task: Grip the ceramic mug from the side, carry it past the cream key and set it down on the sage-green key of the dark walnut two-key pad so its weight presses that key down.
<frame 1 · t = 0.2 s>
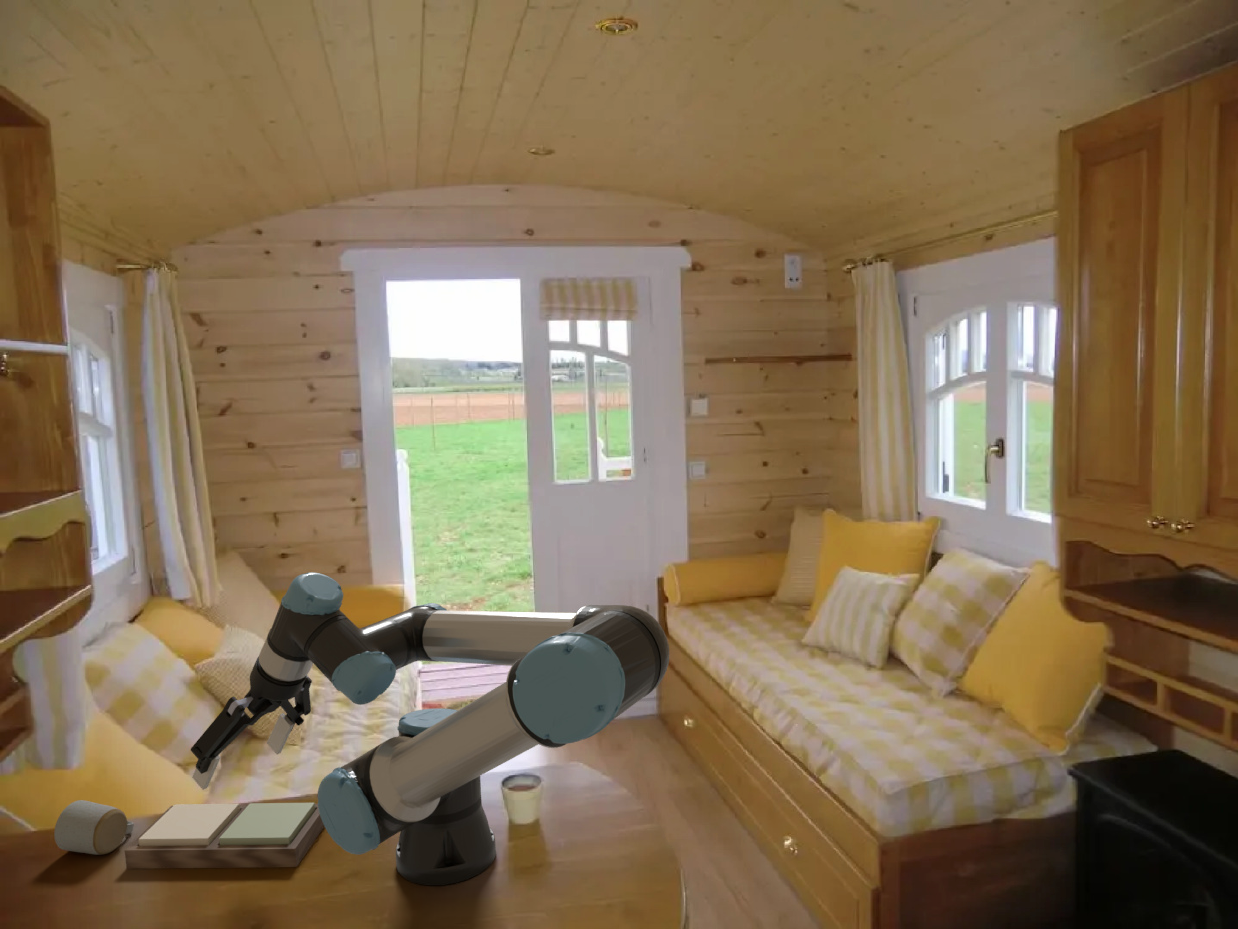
hand: (238, 764, 145), 15 cm above the table, tool tilted 35°, fingers open, 13 cm apart
ceramic mug: (100, 846, 153), on the table
cream key: (191, 829, 151), point 3 cm above the table, slide at 0.0 cm
key pad frame: (231, 843, 151), on the table
sage key: (269, 828, 151), point 3 cm above the table, slide at 0.0 cm
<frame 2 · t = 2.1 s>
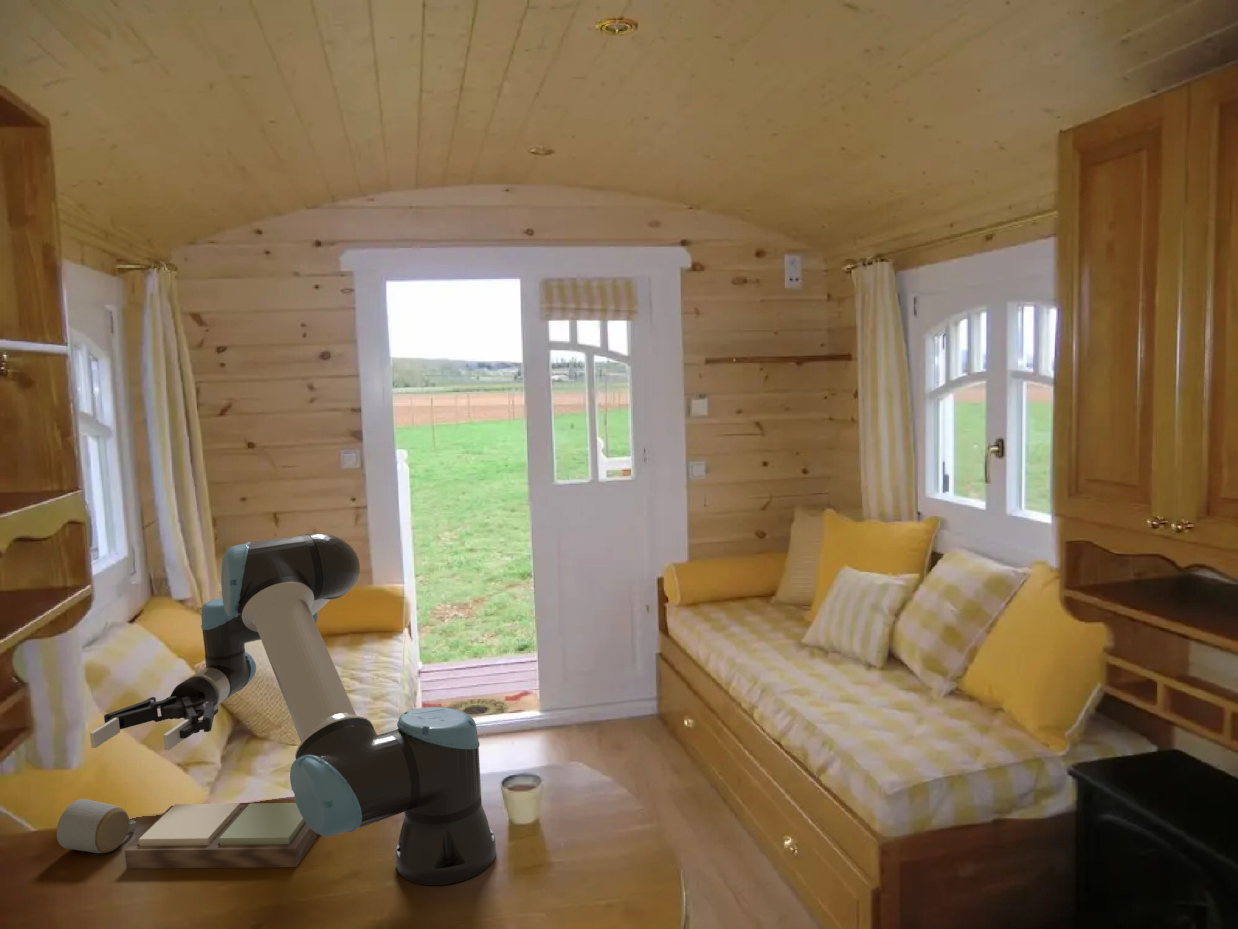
hand: (128, 741, 160), 13 cm above the table, tool horizontal, fingers open, 13 cm apart
nothing on the table moved.
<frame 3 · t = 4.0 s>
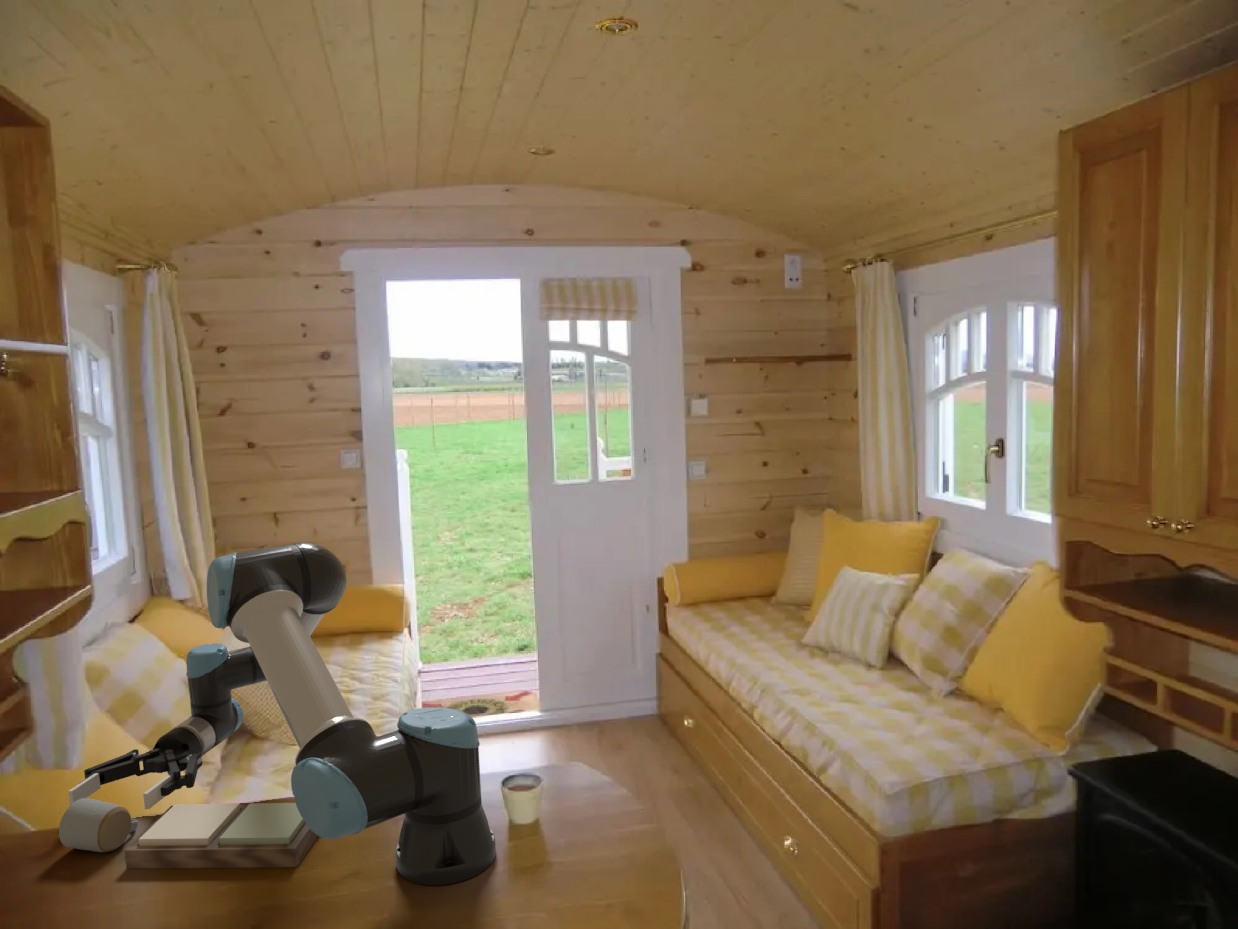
hand: (108, 800, 155), 6 cm above the table, tool horizontal, fingers open, 13 cm apart
nothing on the table moved.
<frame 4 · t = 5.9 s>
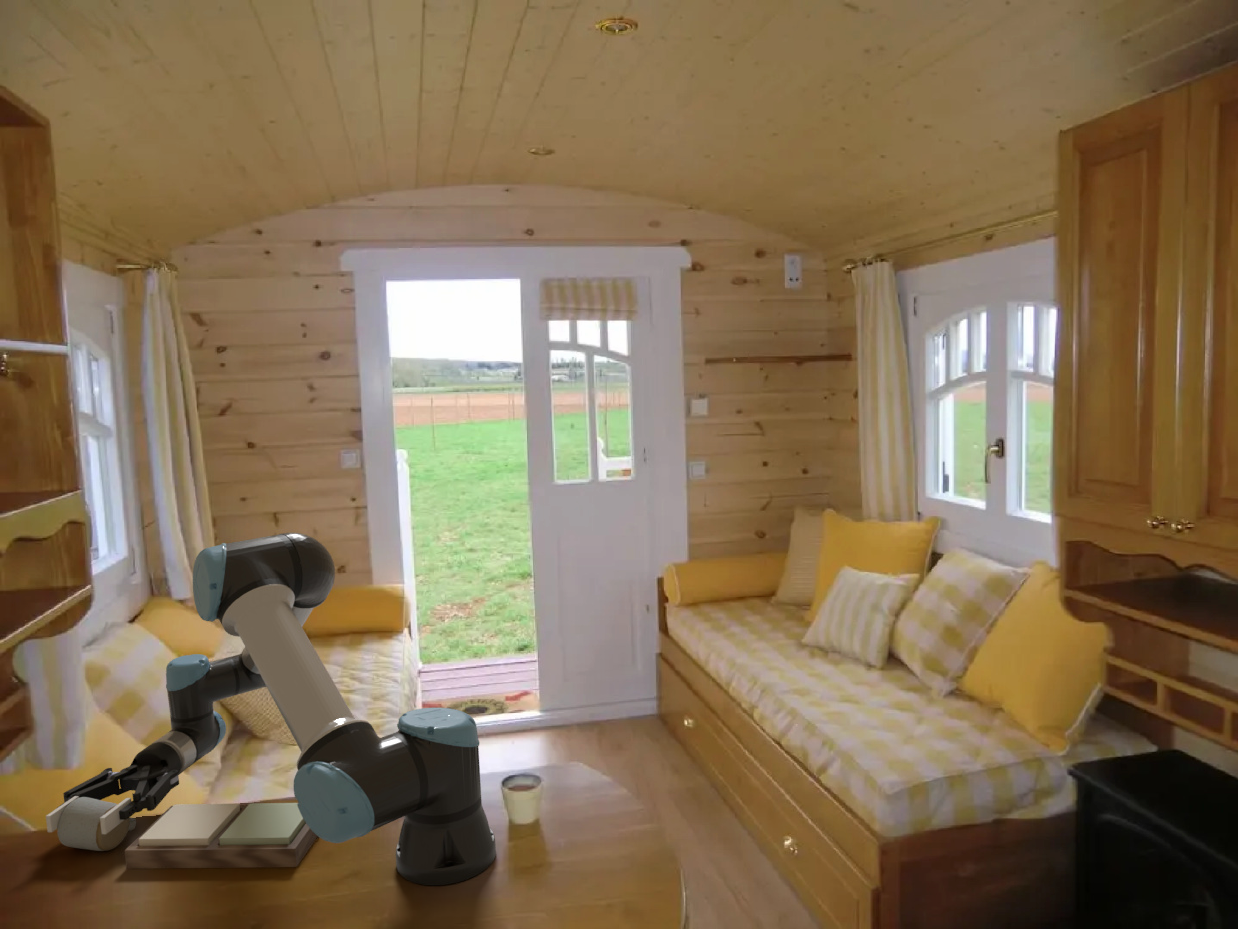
hand: (75, 825, 147), 6 cm above the table, tool horizontal, fingers closed on ceramic mug, 9 cm apart
ceramic mug: (103, 843, 153), on the table, touching gripper
everything else where it was.
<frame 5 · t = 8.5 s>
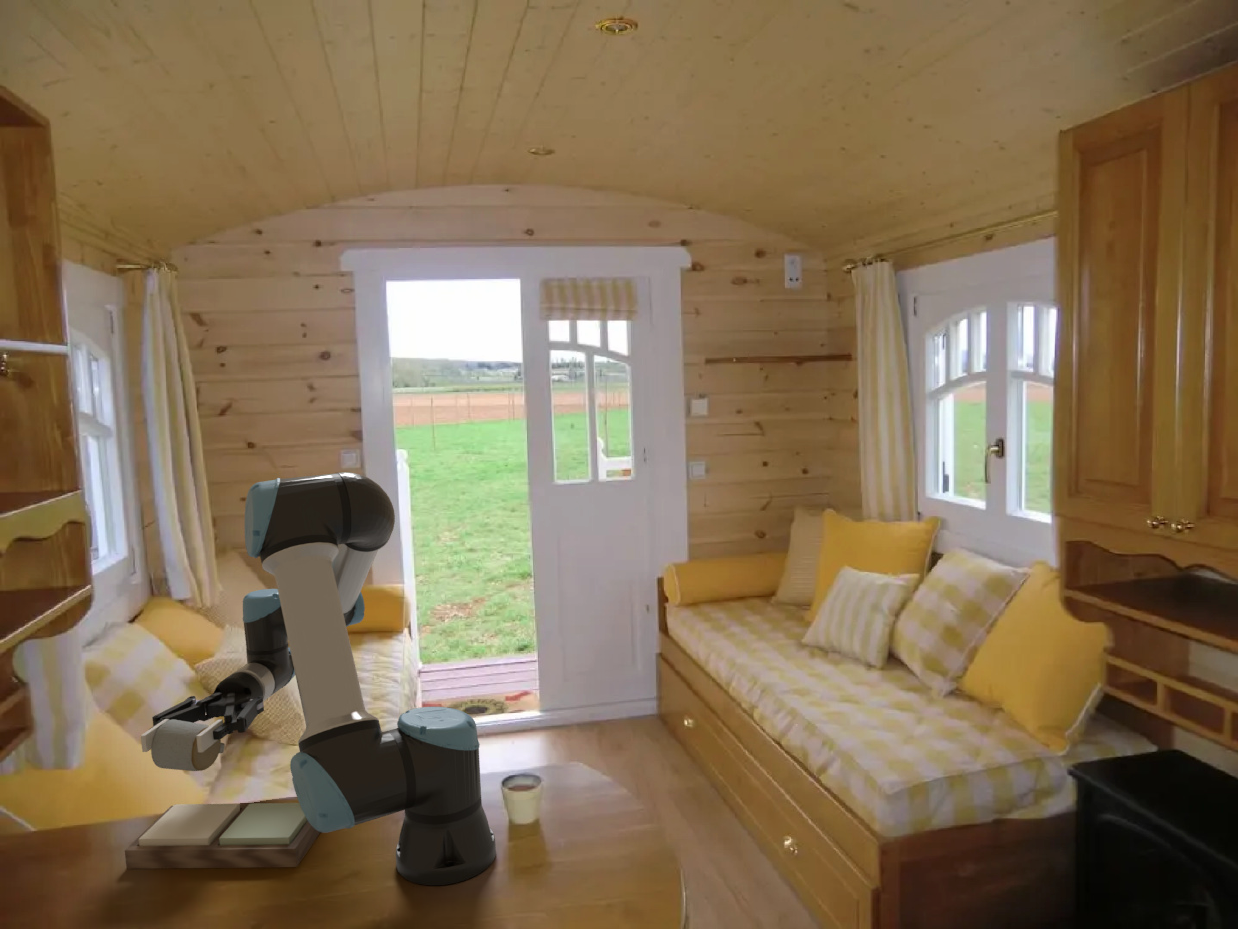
hand: (171, 744, 147), 18 cm above the table, tool horizontal, fingers closed on ceramic mug, 9 cm apart
ceramic mug: (194, 765, 154), point 12 cm above the table, touching gripper
everything else where it was.
when the fingers open (11 cm above the table, at t = 11.4 s): ceramic mug drops 3 cm, resting on key pad frame, sage key.
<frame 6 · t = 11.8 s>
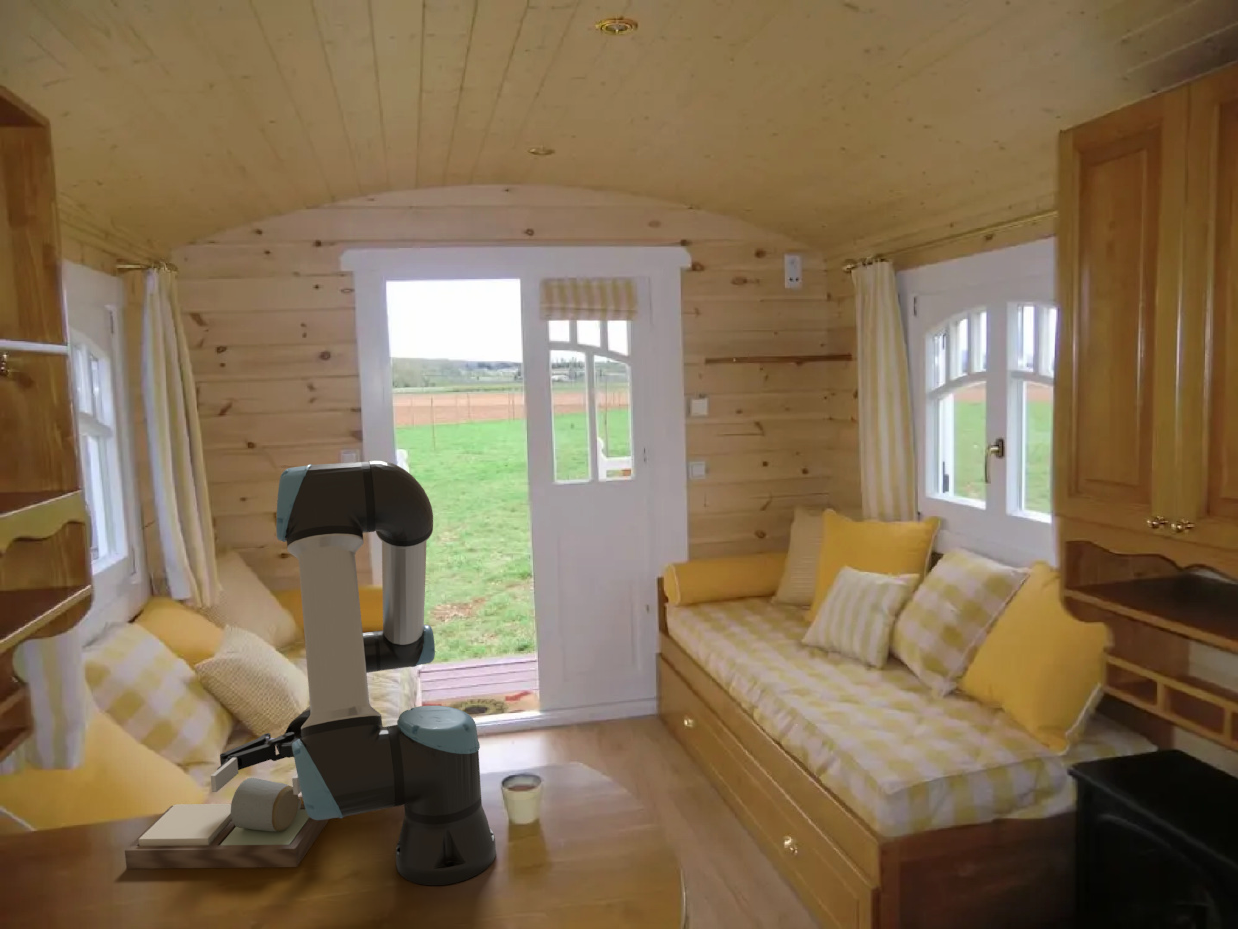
hand: (253, 785, 146), 11 cm above the table, tool horizontal, fingers open, 13 cm apart
ceramic mug: (272, 823, 152), point 3 cm above the table, touching key pad frame, sage key
sage key: (269, 834, 151), point 1 cm above the table, slide at 1.2 cm, touching ceramic mug
everything else where it was.
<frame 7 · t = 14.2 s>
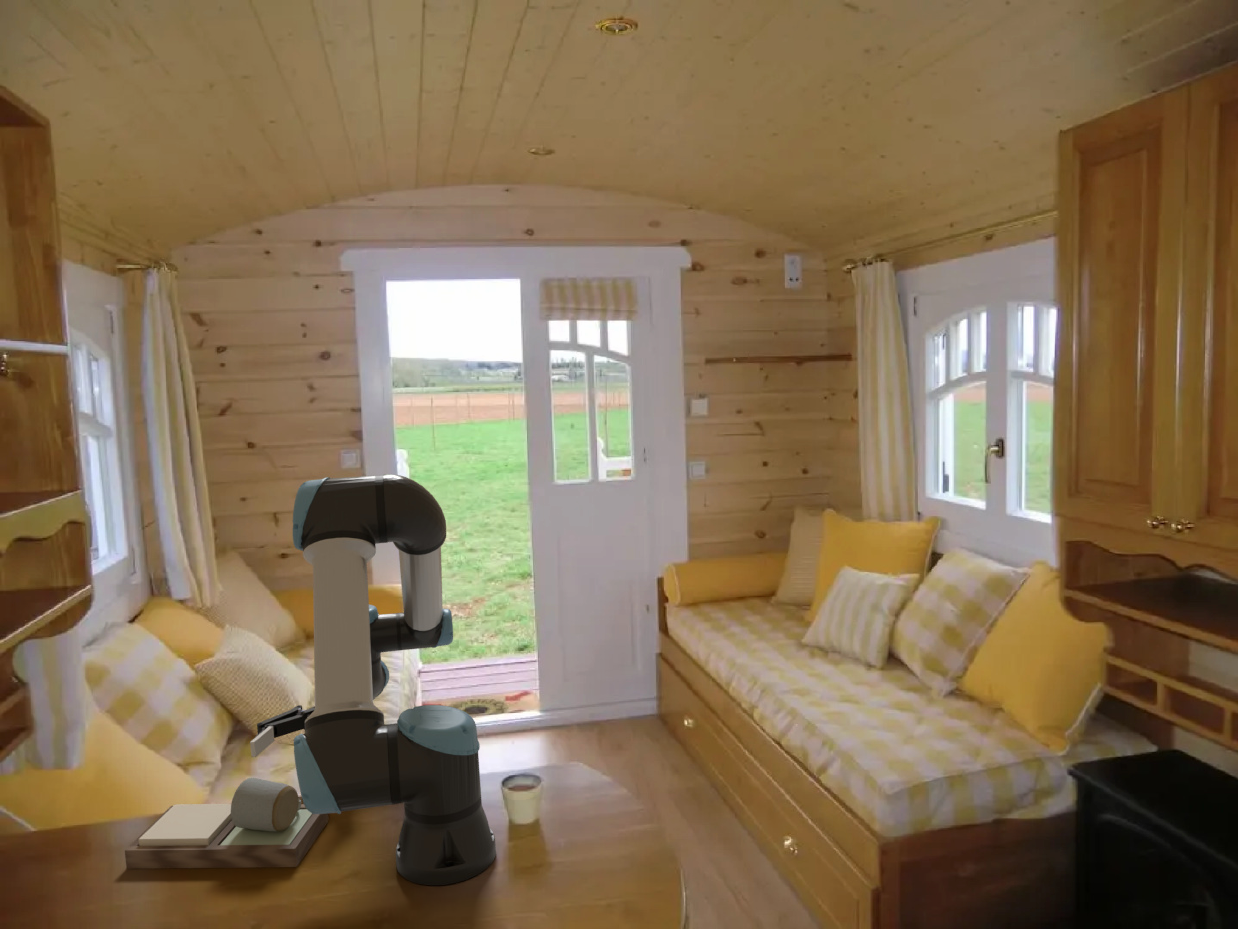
hand: (290, 750, 158), 12 cm above the table, tool horizontal, fingers open, 13 cm apart
nothing on the table moved.
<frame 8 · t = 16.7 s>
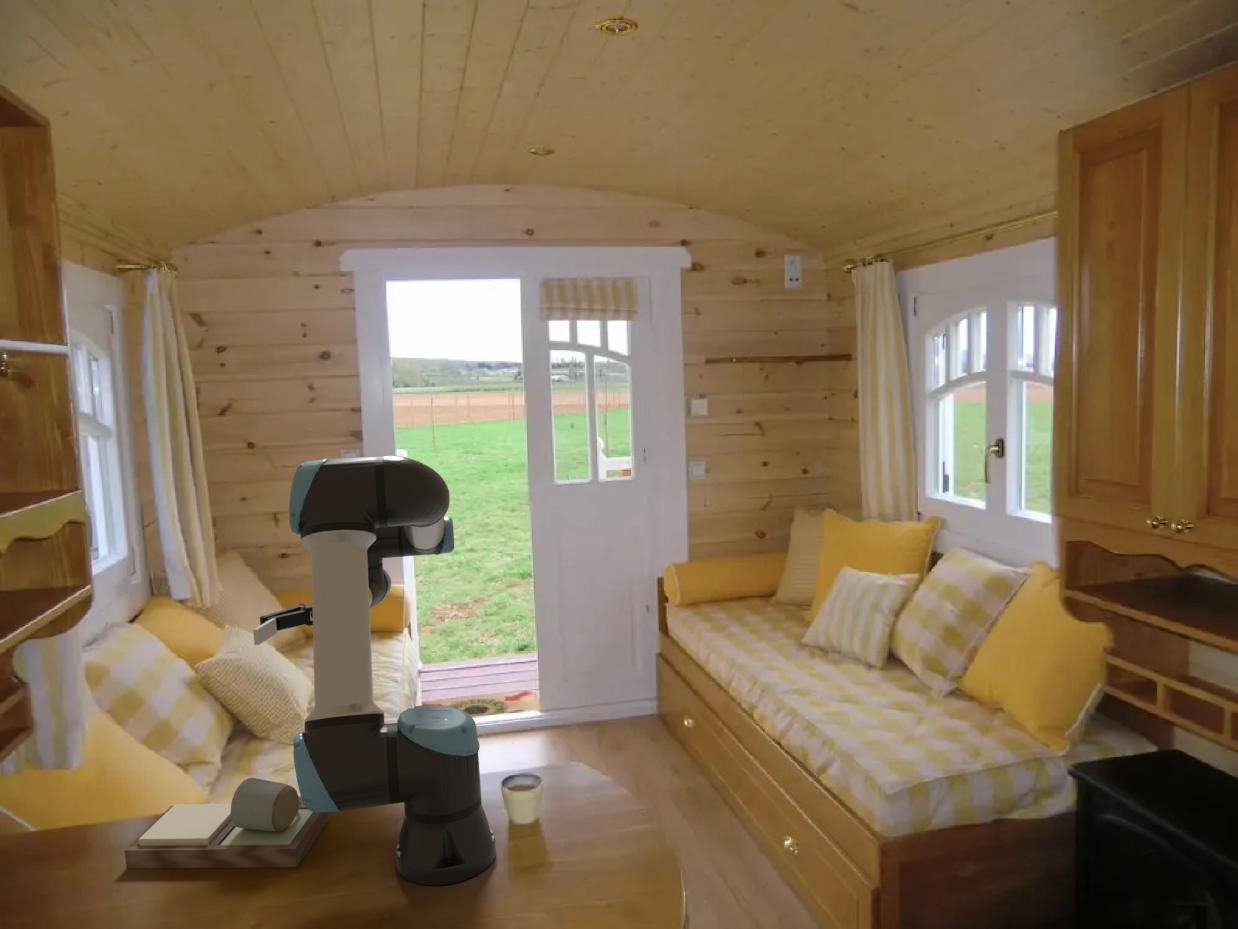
hand: (293, 637, 160), 30 cm above the table, tool horizontal, fingers open, 13 cm apart
nothing on the table moved.
at the end: sage key slide at 1.2 cm; cream key slide at 0.0 cm; ceramic mug tilted 1° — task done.
